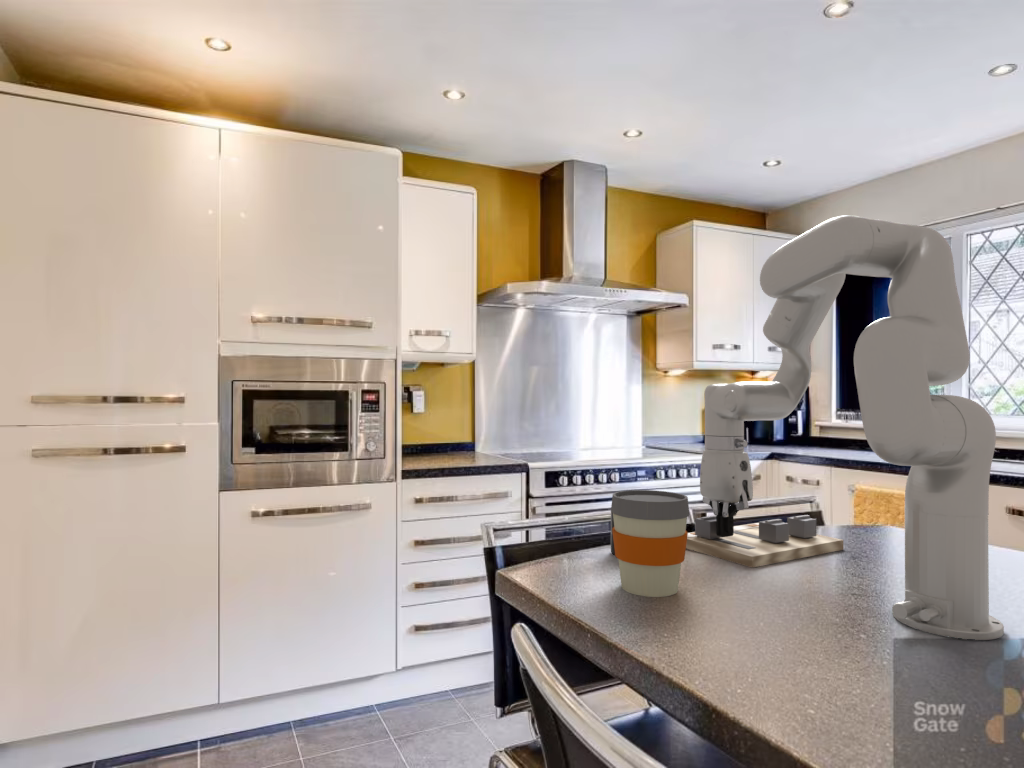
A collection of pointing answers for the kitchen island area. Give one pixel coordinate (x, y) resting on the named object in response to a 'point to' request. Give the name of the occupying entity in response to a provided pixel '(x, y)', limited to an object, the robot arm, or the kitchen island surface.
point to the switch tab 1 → (706, 527)
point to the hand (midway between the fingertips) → (725, 535)
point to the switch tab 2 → (774, 531)
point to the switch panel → (761, 547)
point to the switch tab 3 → (802, 526)
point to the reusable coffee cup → (650, 540)
